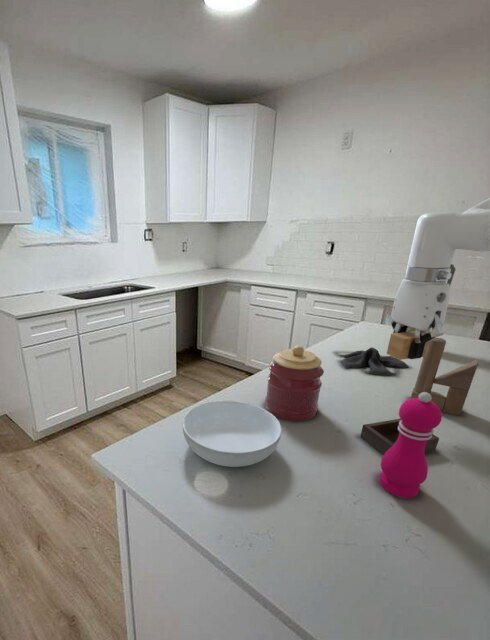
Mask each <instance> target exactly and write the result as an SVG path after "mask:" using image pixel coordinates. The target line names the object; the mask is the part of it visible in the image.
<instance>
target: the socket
mask: <svg viewBox="0 0 490 640" xmlns="http://www.w3.org/2000/svg"><path fill="white" fill-rule="evenodd" d="M400 421H401V418H396V419H395V418H394V419H389V420H384V421H377V422H372V423H371V422H370V423H364V424H362V428H361V433H360V438H361V440H362V441H365V442H366V444H368V445H369V446H371V447H372V448H373V449H375V450H376V451H377V452H378V453H379V454H381V455H382V456H384V454H385V453H386V452H387V451H388V450H389V449H390V448H391V447H392V446H393V445H394V444H395V442H396V441H397V439H398V437H399V430H398V426H399V422H400ZM439 441H440V437H439V436H437V435H435V434H434V433H433V434H432V438H431V439H429V440H427V442H426V445H425V454H426V453H427V454H429V453H433V452H435V451H436V450H437V447H438V444H439Z"/></svg>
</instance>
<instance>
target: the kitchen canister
mask: <svg viewBox="0 0 490 640" xmlns="http://www.w3.org/2000/svg"><path fill="white" fill-rule="evenodd" d="M321 365H322V360H321V358H320V357H318V356H317V355H316V354H315V353H313V352H311V351H309V350H305V349H304V347H303V346H301V345H295V346H294V347H293V348H287V349H283V350H281V351H279V352H277V353H275V354H274V355H273V357H272V361H271V362H269V364H268V369H269V371H270V372H269V374H268V375H267V387H266V388H267V389H266V395H265V401H264V403H265V408H266V411H268V412H270V413H271V414H272V415H274V416H275V417H276V418H277V419H278V418H279V419H281V420H286V421H292V422H303V421H309V420H310V419H312V418H314V417H315V416H316V413H317V411H318V408H319V398H320V393H321V392H320V391H321V388H322V386H323V383H322V380H321V377H322V376H323V375H324V374H325V370H324V368H323V367H322V366H321Z"/></svg>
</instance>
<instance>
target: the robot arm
mask: <svg viewBox="0 0 490 640" xmlns="http://www.w3.org/2000/svg"><path fill="white" fill-rule="evenodd" d="M456 250H465V251H473V252H490V197H489V198H487V199H485V200H483V201H481V202H478V204H475V205H473V206H472V207H470V208H468V209H466V210H465V211H463V212H459V211H433V212H431V211H430V212H426V213H423V214H421V215H420V216H419V217H418V219H417V221H416V226H415V230H414V234H413V238H412V243H411V248H410V252H409V256H408V261H407V266H406V269H405V274H404V278H402V280H401V282H400V284H399V287H398V289H397V292H396V294H395V297H394V301H393V304H392V309H391V312H390V313H389V314H388V315H387V321H389V323H390V324H391V327H392V330H393V331H392V334H394V333H402V332H407V331H408V329H409V327H412V328H415V342H412V343H411V347H410V351H409V355H408V358H409V359H408V360H416V359H417V360H418V359H422V358H423V357H422V354H423V351H424V347H425V343H426V342H429V341H430V340H431V339H433V338H439V337H442V336H444V334H445V332H444V329H443V326H444V325H445V321H446V317H447V312H448V306H449V302H450V301H449V300H450V288H449V284H448V283H447V281H448V279H450V278H451V276H452V274H451V273H450V271H451V269H450V266H451V264H452V263H453V258H454V254H455V251H456ZM422 332H424V333H423V335H422Z"/></svg>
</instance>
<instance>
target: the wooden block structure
mask: <svg viewBox="0 0 490 640" xmlns="http://www.w3.org/2000/svg"><path fill="white" fill-rule="evenodd" d="M446 345H447V340H446V339H444V338H441V337H435V338H433V339H431V340H430V342H429V346H428V350H427V353H426V356H424V357H422V360H421V363H420V367H419V370H418V374H417V377H416V380H415V385H414V387H413V388H412V392H411V394H410V398H409V399H412V398H419V394H420V393H422V392H427V393H429V394H430V395H431V397H432V398H431V400H430V401H432V402H433V403H435V404H436V405H437V406H438V407H439V408H440V410H441V412H442V413H447V414H451V415H454V416H455V415H456V416H460V415H461V414H462V411H463V408H464V406H465V402H466V400H467V397H468V394H469V391H470V388H471V386H472V383H473V380H474V377H475V375H476V372H477V369H478V366H479V359H475V360H473V361H471V362H470V361H469V362H468V363H466V364H464V365H461V366H459V367H457V368H455V369H451V370H450V371H447V372H445V373H443V374H441V375H438V376H437V373H438V370H439V366H440V364H441V360H442V357H443V354H444V351H445V348H446ZM434 384H435V385H440V386H445V387H448V390H447V393H446V396H445V395H443V394H442V393H440V392H437V391H432V389H433V386H434Z"/></svg>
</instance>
